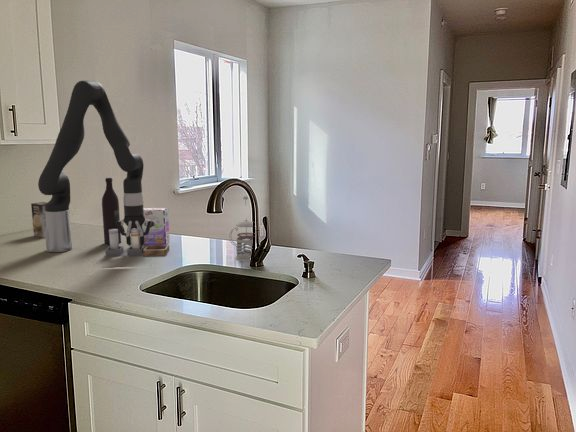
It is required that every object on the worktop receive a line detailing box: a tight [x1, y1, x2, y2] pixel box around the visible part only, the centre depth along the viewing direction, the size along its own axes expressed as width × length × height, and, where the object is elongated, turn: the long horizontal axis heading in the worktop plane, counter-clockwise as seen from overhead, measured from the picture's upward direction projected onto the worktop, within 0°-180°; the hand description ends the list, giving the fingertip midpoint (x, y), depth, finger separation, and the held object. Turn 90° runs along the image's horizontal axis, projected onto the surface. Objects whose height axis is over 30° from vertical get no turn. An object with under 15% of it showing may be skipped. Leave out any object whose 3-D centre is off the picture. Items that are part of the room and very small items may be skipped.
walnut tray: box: [142, 244, 170, 257], centre depth 204 cm, size 9×9×3 cm
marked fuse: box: [130, 228, 141, 249], centre depth 202 cm, size 4×4×10 cm
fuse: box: [109, 229, 120, 250], centre depth 201 cm, size 4×4×10 cm
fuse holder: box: [104, 245, 146, 258], centre depth 202 cm, size 14×9×3 cm, turn 96°
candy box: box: [142, 207, 171, 245], centre depth 221 cm, size 14×6×16 cm, turn 84°
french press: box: [229, 195, 254, 262], centre depth 196 cm, size 10×12×25 cm
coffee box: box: [30, 201, 47, 239], centre depth 241 cm, size 9×6×16 cm
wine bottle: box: [101, 177, 122, 246], centre depth 220 cm, size 7×7×30 cm
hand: (135, 244), depth 202 cm, fingers open, 4 cm apart
